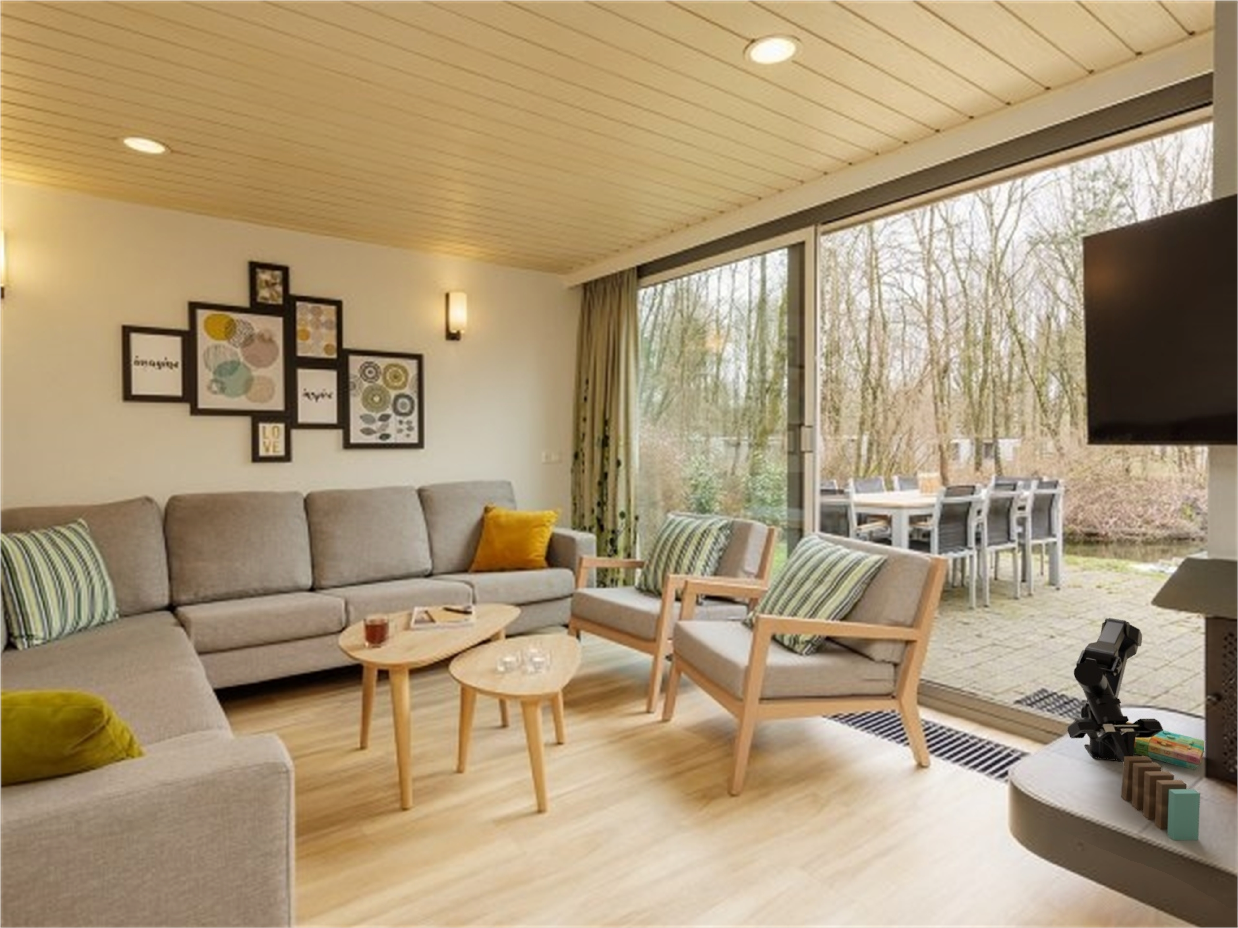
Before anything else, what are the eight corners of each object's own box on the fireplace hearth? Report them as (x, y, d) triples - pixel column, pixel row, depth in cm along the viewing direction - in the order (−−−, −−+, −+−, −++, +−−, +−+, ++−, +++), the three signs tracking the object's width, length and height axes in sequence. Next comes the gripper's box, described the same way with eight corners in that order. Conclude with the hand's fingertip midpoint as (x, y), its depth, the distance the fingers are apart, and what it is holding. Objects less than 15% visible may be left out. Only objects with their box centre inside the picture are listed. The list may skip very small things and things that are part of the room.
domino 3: (1143, 815, 151) (1144, 771, 150) (1166, 814, 150) (1168, 771, 150) (1148, 819, 149) (1149, 775, 148) (1172, 819, 149) (1173, 774, 148)
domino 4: (1155, 824, 147) (1156, 780, 146) (1179, 824, 147) (1180, 779, 146) (1160, 829, 145) (1162, 784, 145) (1185, 829, 145) (1186, 783, 144)
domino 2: (1131, 805, 154) (1133, 762, 153) (1154, 805, 154) (1156, 762, 153) (1136, 810, 152) (1138, 766, 152) (1160, 809, 152) (1161, 766, 151)
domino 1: (1121, 796, 157) (1124, 756, 156) (1143, 796, 157) (1147, 755, 156) (1125, 801, 156) (1129, 760, 154) (1148, 800, 156) (1152, 760, 154)
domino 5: (1167, 835, 144) (1168, 789, 143) (1192, 834, 143) (1193, 788, 143) (1173, 839, 142) (1174, 793, 141) (1198, 839, 142) (1200, 793, 141)
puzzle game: (1199, 755, 166) (1100, 729, 180) (1199, 774, 166) (1100, 746, 180) (1206, 738, 174) (1110, 714, 188) (1205, 756, 174) (1110, 731, 189)
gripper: (1123, 709, 172) (1153, 776, 162) (1047, 710, 173) (1072, 776, 163) (1148, 693, 164) (1181, 762, 154) (1067, 694, 164) (1094, 763, 155)
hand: (1130, 766), depth 157 cm, fingers closed
